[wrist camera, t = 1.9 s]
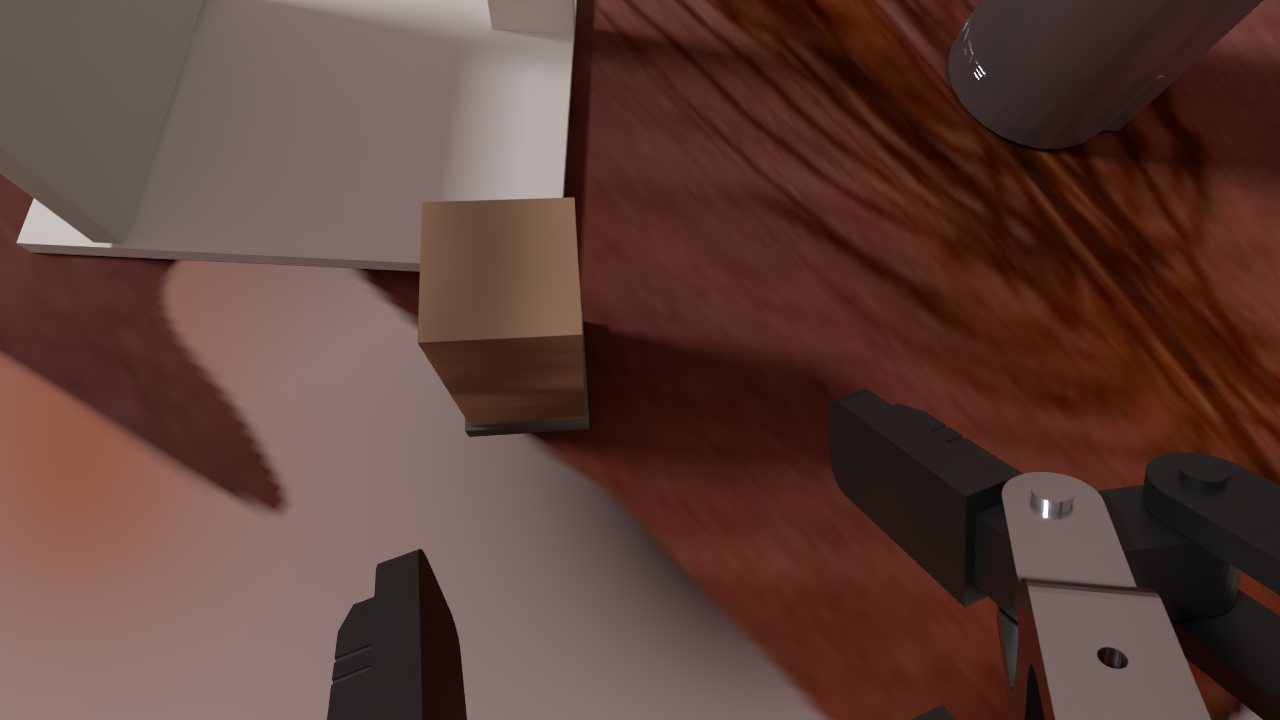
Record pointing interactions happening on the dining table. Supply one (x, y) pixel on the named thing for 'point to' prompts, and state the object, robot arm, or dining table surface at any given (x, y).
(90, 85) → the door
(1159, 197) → the dining table surface
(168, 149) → the door frame
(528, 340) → the tan rectangular block
